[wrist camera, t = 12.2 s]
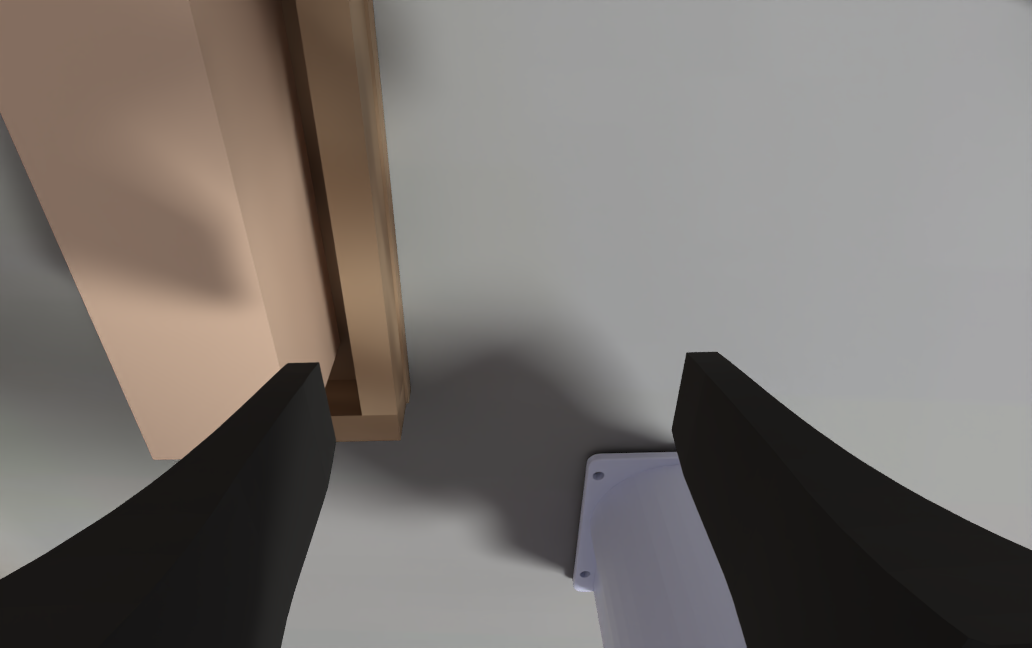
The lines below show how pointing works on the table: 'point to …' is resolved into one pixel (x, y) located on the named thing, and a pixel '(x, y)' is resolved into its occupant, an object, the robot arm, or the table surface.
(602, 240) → the table surface
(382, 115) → the wooden tray
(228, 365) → the tan rectangular block
